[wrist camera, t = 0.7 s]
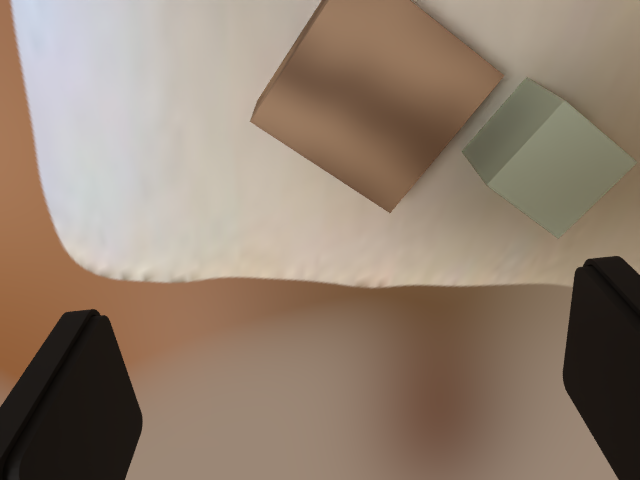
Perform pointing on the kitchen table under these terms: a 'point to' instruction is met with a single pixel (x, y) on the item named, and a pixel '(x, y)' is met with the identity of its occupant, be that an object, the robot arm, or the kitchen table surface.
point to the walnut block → (373, 94)
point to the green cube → (546, 158)
